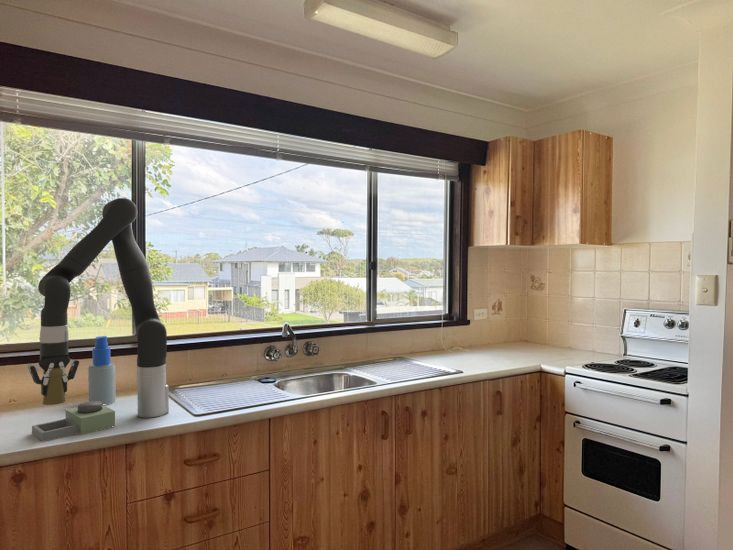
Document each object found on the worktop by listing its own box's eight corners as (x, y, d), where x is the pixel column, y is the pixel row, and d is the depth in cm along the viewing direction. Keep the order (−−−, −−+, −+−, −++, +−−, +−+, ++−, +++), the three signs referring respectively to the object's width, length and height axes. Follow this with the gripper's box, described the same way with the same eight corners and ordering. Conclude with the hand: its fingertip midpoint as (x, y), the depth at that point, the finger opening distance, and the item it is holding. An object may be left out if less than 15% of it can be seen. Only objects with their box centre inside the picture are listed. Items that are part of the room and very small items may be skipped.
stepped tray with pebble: (98, 417, 171) (98, 397, 170) (115, 426, 161) (114, 404, 161) (30, 432, 156) (29, 410, 156) (44, 443, 146) (43, 419, 146)
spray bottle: (104, 398, 194) (103, 334, 194) (120, 400, 191) (119, 335, 190) (83, 404, 186) (82, 337, 186) (99, 407, 183) (98, 339, 182)
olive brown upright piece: (69, 399, 158) (69, 364, 157) (58, 405, 152) (58, 369, 151) (50, 399, 158) (50, 364, 157) (38, 404, 152) (38, 368, 151)
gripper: (30, 344, 146) (31, 402, 147) (83, 339, 157) (83, 393, 157) (23, 341, 151) (23, 397, 152) (75, 336, 162) (75, 389, 162)
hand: (54, 394), depth 155 cm, fingers closed on olive brown upright piece, 4 cm apart
